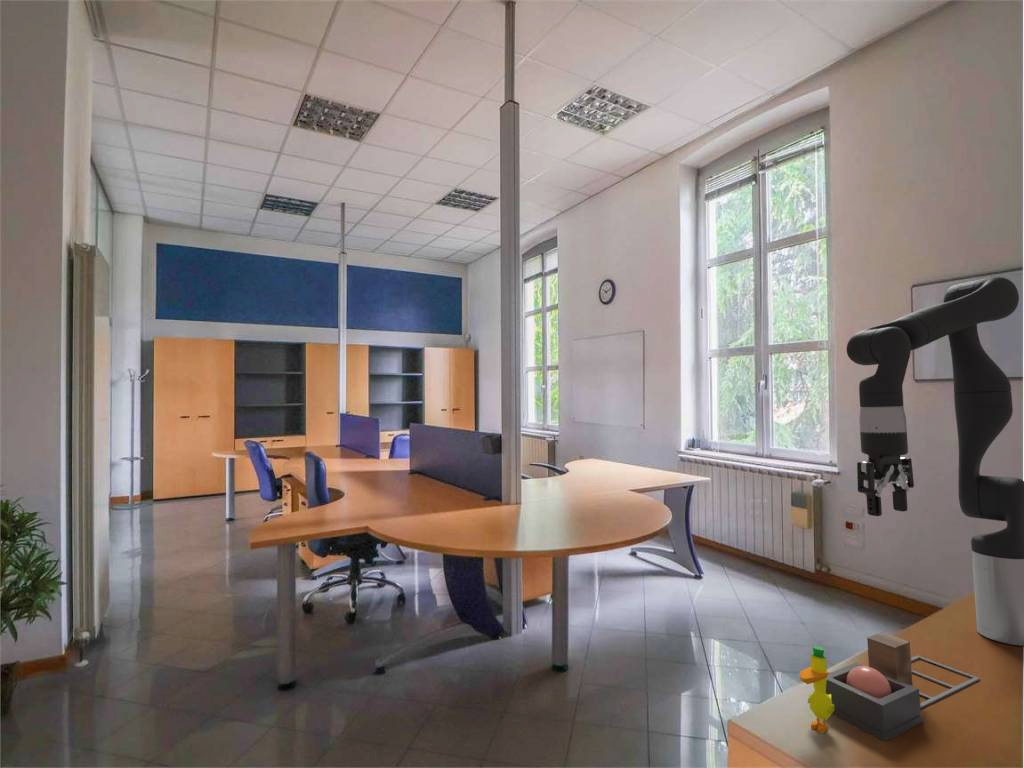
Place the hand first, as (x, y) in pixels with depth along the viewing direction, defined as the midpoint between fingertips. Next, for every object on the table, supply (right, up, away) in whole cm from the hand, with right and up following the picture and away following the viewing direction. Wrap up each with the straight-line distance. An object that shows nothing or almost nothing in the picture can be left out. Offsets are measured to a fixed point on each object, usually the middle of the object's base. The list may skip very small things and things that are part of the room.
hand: (887, 513), depth 102 cm
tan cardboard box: (-8, -28, -12) cm, 32 cm away
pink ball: (-16, -26, -18) cm, 36 cm away
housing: (-16, -28, -18) cm, 37 cm away
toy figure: (-26, -28, -22) cm, 44 cm away
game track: (-2, -28, -9) cm, 29 cm away
